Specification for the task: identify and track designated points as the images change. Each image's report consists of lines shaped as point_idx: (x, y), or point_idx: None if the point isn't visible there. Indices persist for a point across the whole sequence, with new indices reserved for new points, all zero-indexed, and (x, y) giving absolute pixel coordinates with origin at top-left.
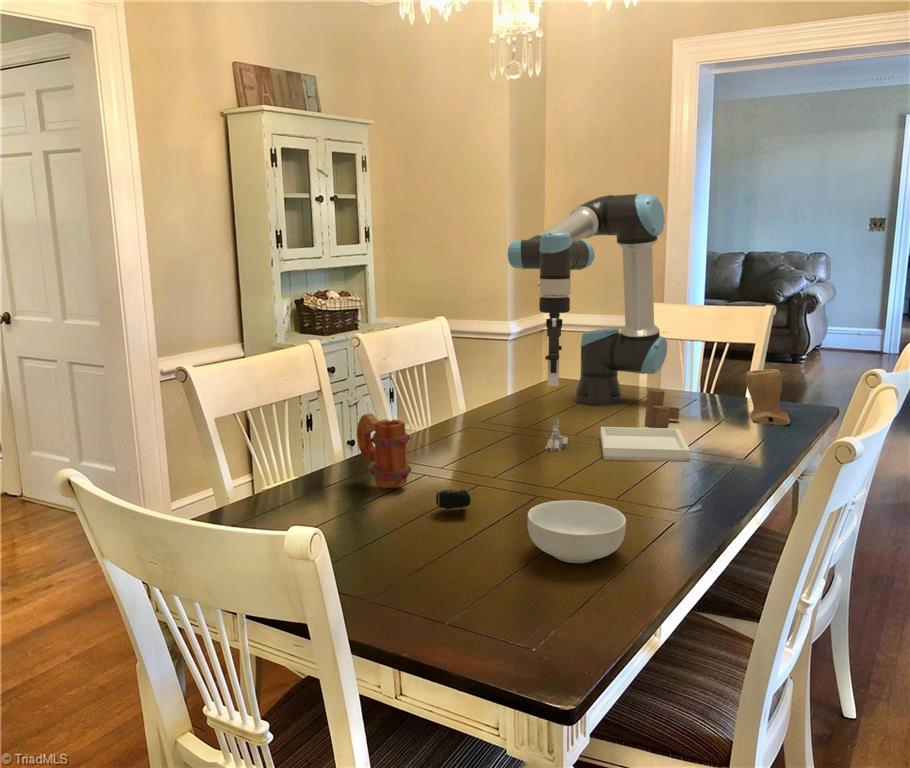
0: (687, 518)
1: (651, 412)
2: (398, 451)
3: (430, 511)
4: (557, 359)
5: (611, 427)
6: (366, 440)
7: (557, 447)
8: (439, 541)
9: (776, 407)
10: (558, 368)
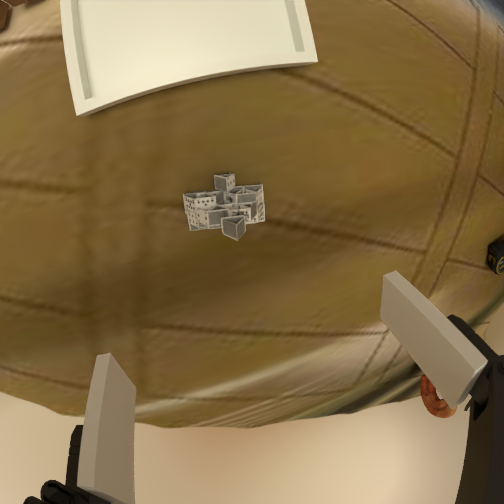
0: (488, 7)
1: None
2: None
3: None
4: (500, 359)
5: (74, 83)
6: (436, 394)
7: (261, 191)
8: None
9: None
10: (453, 328)
